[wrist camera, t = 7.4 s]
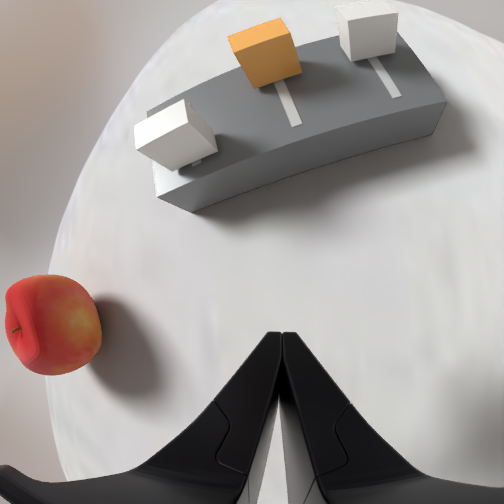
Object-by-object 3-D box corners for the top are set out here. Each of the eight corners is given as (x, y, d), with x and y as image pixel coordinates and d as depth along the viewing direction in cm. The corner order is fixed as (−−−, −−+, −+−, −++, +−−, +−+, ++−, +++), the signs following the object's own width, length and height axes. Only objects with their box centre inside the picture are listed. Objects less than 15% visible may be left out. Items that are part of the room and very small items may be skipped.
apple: (67, 272, 29) (-6, 264, 20) (125, 283, 26) (37, 278, 17) (65, 353, 28) (-5, 363, 19) (121, 379, 25) (41, 403, 16)
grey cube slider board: (431, 134, 19) (447, 100, 14) (190, 212, 25) (156, 196, 20) (388, 62, 21) (391, 24, 16) (176, 135, 26) (146, 110, 21)
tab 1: (218, 151, 18) (188, 122, 14) (172, 171, 19) (135, 149, 15) (212, 129, 19) (183, 98, 15) (168, 150, 20) (134, 125, 16)
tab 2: (302, 72, 17) (290, 32, 13) (254, 89, 18) (233, 52, 14) (293, 56, 17) (280, 17, 14) (247, 72, 18) (227, 36, 15)
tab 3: (394, 52, 15) (397, 12, 11) (351, 61, 16) (347, 20, 12) (382, 37, 16) (383, -2, 12) (340, 46, 16) (334, 5, 13)
